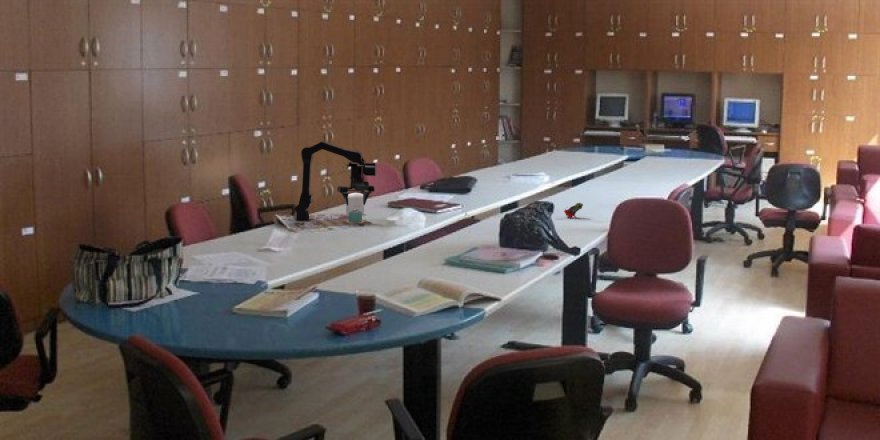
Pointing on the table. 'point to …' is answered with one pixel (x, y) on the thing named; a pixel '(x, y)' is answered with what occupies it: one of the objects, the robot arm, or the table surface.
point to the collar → (354, 217)
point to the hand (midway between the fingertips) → (355, 205)
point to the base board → (341, 222)
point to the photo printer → (355, 203)
